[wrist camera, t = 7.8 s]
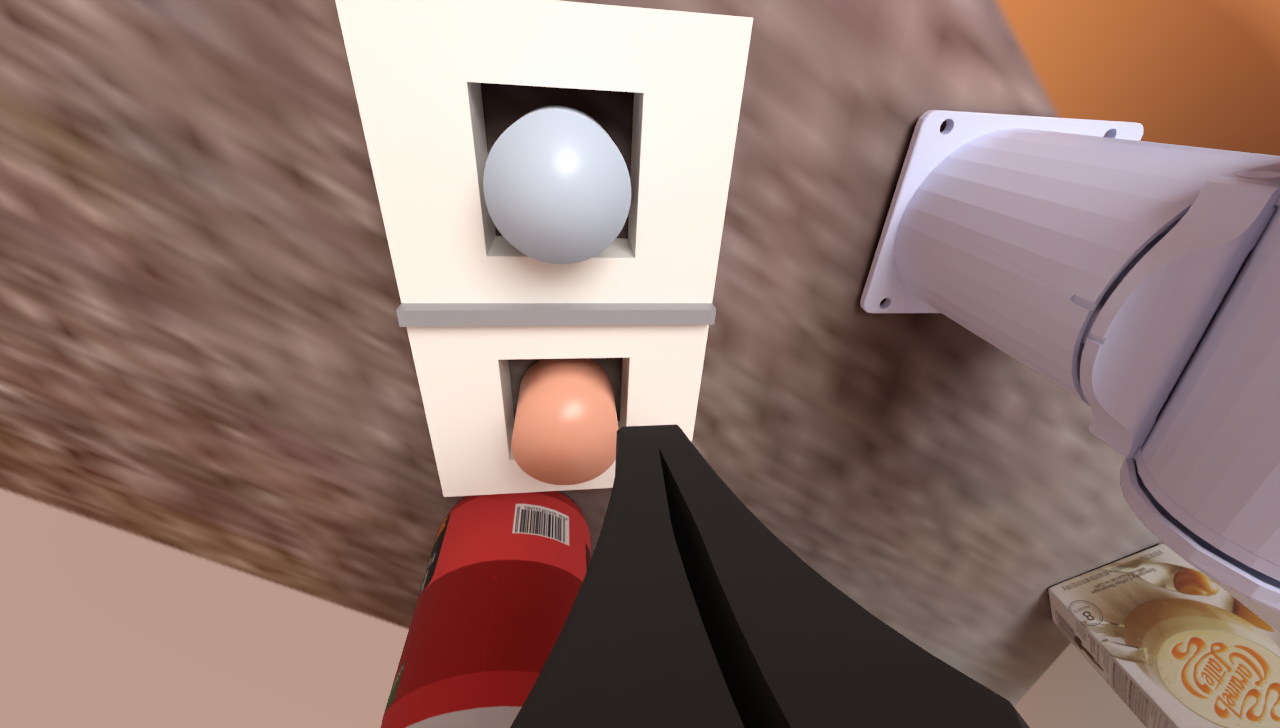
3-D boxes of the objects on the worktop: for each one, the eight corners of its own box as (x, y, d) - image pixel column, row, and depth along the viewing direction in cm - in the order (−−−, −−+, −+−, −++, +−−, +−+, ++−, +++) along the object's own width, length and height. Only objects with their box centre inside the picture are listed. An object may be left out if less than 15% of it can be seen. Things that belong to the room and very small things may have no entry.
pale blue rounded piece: (621, 108, 15) (634, 116, 12) (617, 233, 17) (628, 265, 14) (493, 101, 15) (474, 107, 12) (505, 230, 17) (491, 263, 14)
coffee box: (1166, 537, 35) (1540, 824, 22) (1161, 578, 39) (1483, 850, 25) (1044, 587, 37) (1322, 885, 23) (1048, 622, 40) (1295, 902, 27)
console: (728, 25, 15) (760, 15, 13) (676, 450, 25) (688, 493, 22) (366, -5, 14) (320, -24, 11) (454, 459, 23) (440, 507, 20)
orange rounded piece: (613, 352, 20) (622, 400, 17) (611, 427, 22) (618, 482, 19) (516, 353, 19) (506, 404, 16) (522, 431, 21) (515, 488, 18)
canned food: (414, 499, 24) (316, 768, 15) (566, 461, 24) (565, 705, 15) (474, 586, 28) (427, 839, 19) (605, 553, 28) (622, 790, 19)
